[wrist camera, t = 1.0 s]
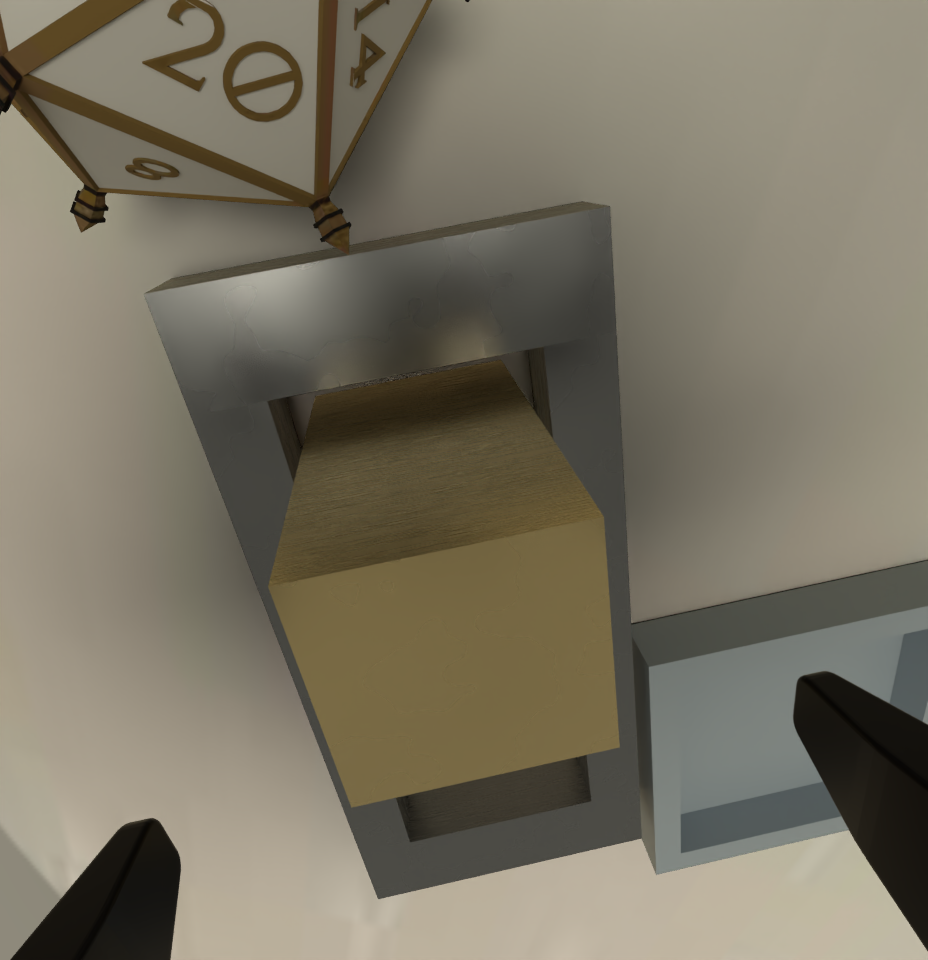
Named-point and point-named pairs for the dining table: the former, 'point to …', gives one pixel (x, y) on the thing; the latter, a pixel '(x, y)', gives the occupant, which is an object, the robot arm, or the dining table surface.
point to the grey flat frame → (399, 350)
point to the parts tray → (762, 708)
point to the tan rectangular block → (444, 586)
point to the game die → (204, 94)
